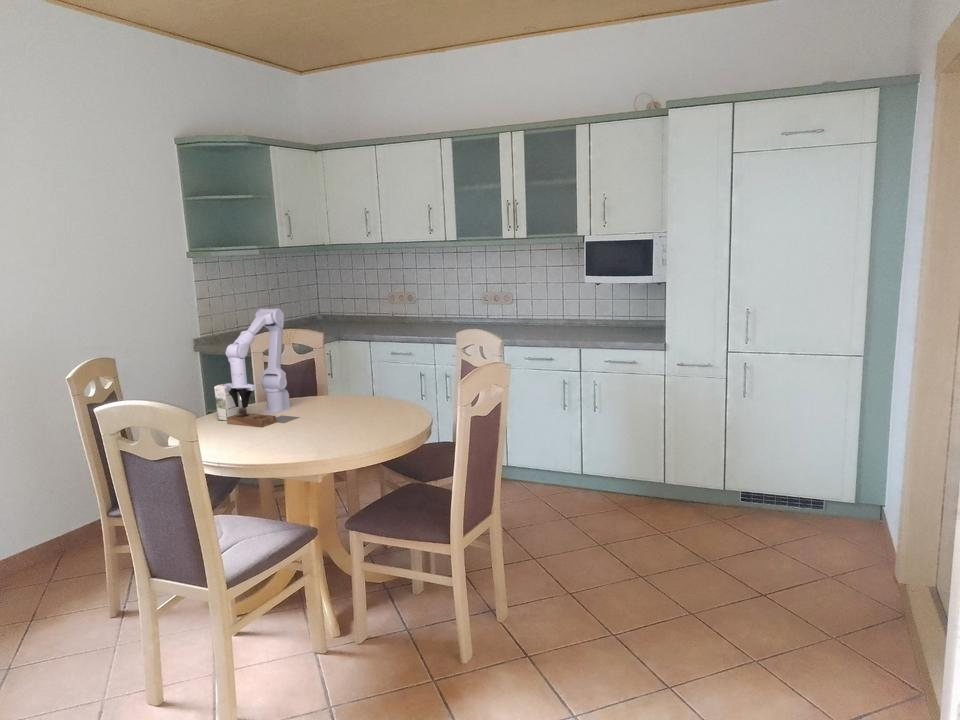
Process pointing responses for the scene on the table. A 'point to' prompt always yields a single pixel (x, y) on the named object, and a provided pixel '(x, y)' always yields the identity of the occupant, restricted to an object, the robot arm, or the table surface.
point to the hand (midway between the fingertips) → (241, 407)
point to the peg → (241, 409)
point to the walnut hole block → (251, 420)
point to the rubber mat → (285, 419)
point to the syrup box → (224, 403)
